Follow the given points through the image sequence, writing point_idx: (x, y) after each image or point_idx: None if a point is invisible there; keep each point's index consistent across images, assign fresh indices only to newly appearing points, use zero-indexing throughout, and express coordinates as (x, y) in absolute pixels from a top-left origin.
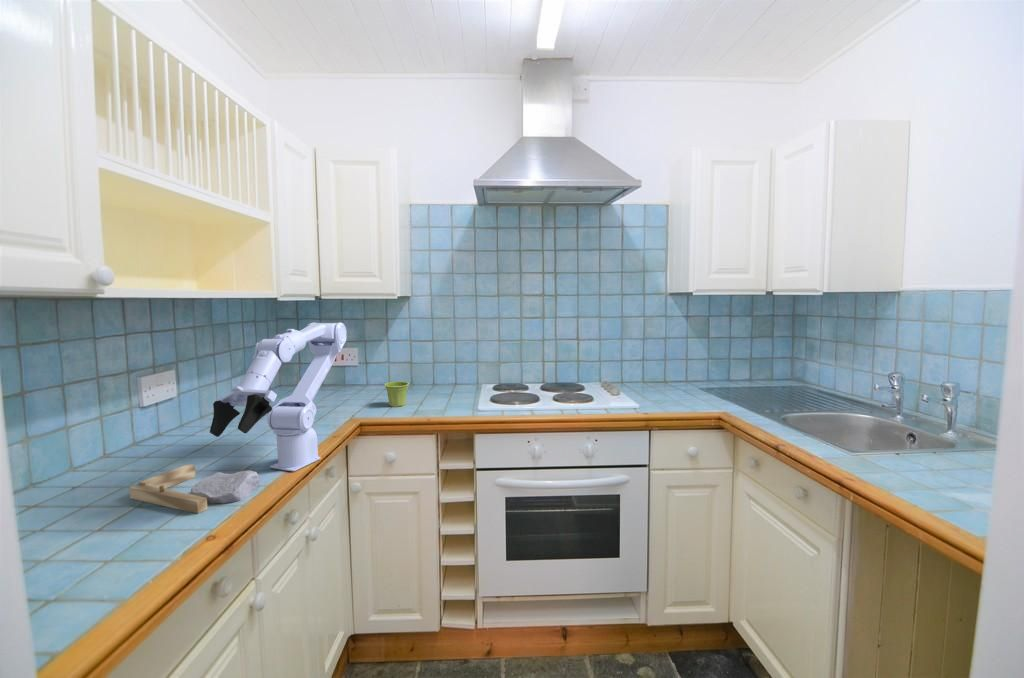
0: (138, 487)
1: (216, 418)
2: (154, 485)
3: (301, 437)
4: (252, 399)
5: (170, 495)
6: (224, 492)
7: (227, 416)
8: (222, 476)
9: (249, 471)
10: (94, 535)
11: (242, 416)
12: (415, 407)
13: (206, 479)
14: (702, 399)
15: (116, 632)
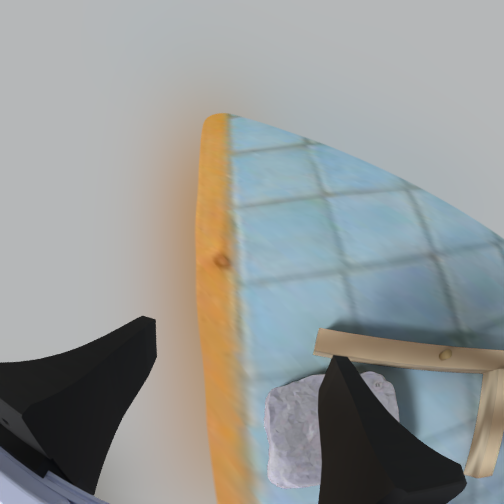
0: (497, 356)
1: (353, 403)
2: (489, 388)
3: None
4: (12, 371)
5: (408, 344)
6: (297, 387)
7: (333, 479)
8: None
9: (289, 474)
10: (421, 242)
11: (118, 343)
12: None
13: None
14: None
15: (203, 134)
